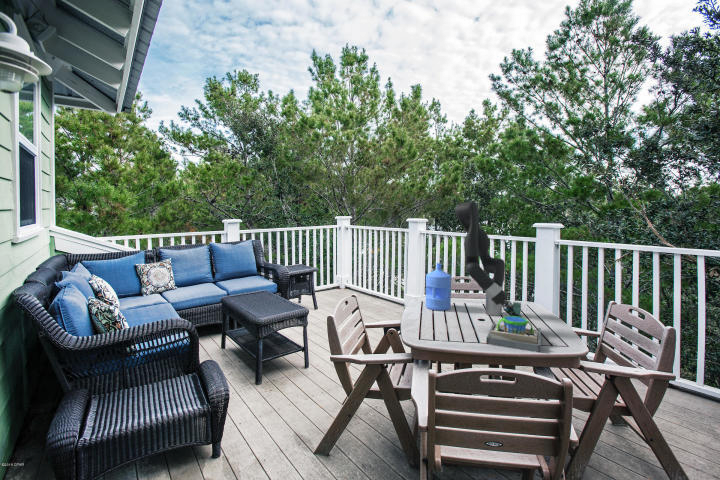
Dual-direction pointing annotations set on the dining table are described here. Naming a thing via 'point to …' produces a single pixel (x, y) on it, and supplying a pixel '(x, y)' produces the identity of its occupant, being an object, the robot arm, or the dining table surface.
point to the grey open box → (515, 337)
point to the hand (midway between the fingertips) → (520, 319)
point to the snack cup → (515, 325)
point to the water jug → (438, 290)
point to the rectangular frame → (513, 342)
